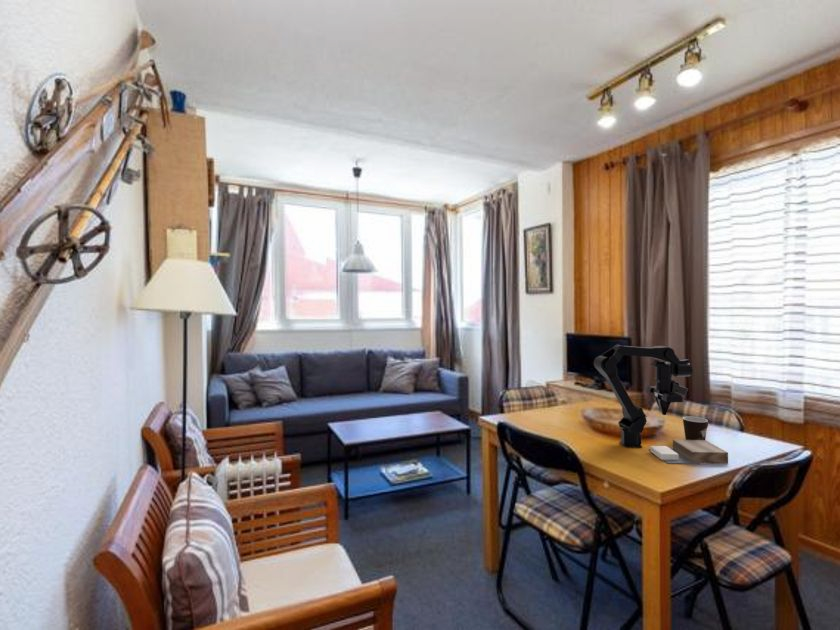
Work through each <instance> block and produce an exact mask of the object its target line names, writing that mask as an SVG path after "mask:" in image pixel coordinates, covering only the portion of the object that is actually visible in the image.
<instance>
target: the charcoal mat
mask: <svg viewBox="0 0 840 630" xmlns="http://www.w3.org/2000/svg"><path fill="white" fill-rule="evenodd" d="M670 449H671V450H673V451H674V452H676V453H677V454H679V460H663V461H664V462H665V463H666V464H667V465H701V463H699V462H692V461H690V460H689V459H687V458H686V457H684V456H683V455H681V454H680V453H678V452H677V451H675V450H674V449H673V448H670ZM648 451H650V448H648Z"/></svg>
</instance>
